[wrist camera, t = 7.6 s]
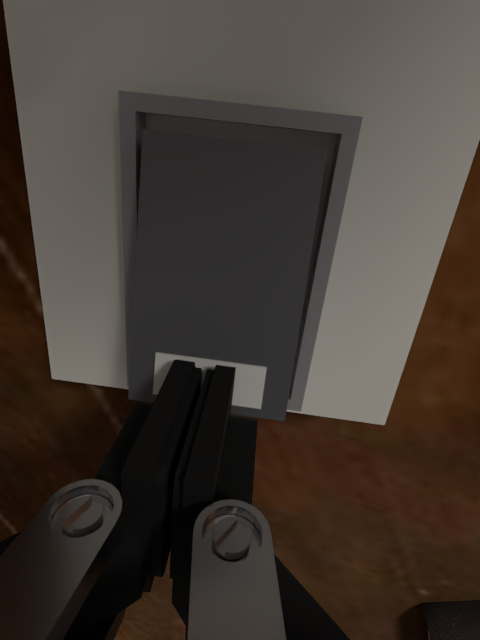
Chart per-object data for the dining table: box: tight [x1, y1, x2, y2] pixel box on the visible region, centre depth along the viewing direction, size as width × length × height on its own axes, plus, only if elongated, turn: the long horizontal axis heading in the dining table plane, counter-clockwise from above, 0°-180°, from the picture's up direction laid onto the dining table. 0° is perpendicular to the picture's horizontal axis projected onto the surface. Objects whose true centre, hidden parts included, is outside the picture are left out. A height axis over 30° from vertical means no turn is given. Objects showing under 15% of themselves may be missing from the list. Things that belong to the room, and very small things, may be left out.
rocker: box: [128, 129, 328, 421], centre depth 10 cm, size 7×4×1 cm, turn 174°
